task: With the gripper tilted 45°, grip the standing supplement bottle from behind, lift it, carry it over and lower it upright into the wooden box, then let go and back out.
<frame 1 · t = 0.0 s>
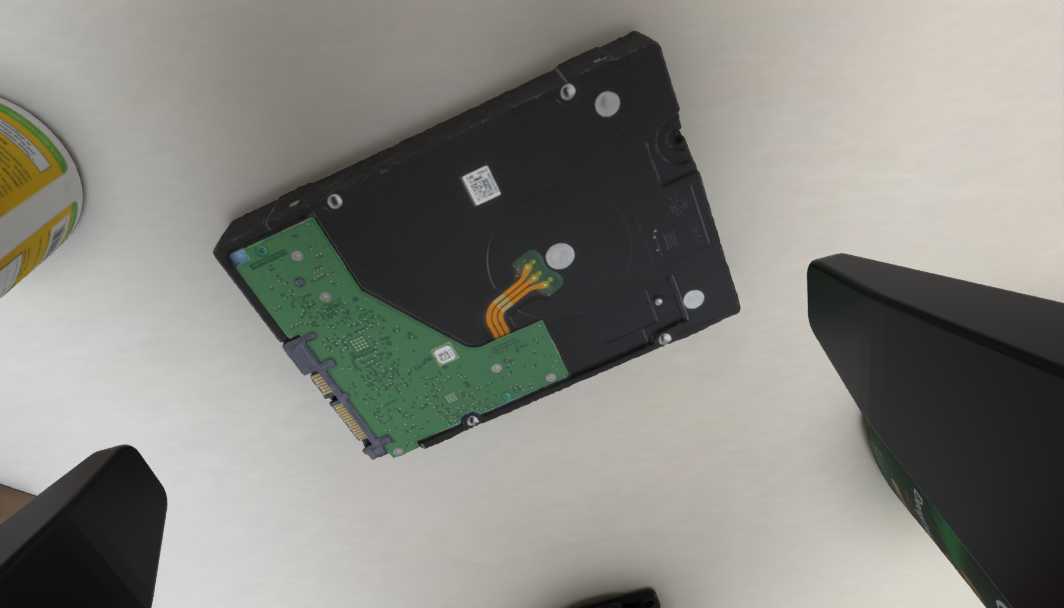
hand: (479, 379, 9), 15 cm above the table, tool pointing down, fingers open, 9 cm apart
coffee jar: (945, 419, 32), on the table
disk drive: (491, 249, 25), on the table
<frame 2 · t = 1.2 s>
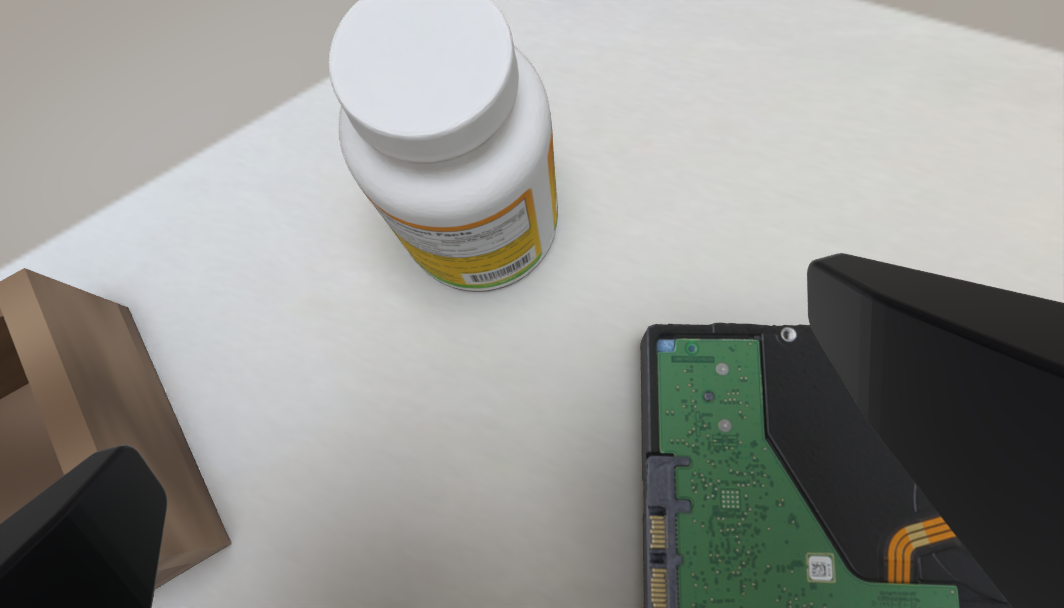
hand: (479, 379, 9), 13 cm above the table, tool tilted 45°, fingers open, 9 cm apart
wooden box: (53, 491, 22), on the table
supplement bottle: (481, 221, 24), on the table
disk drive: (876, 503, 21), on the table
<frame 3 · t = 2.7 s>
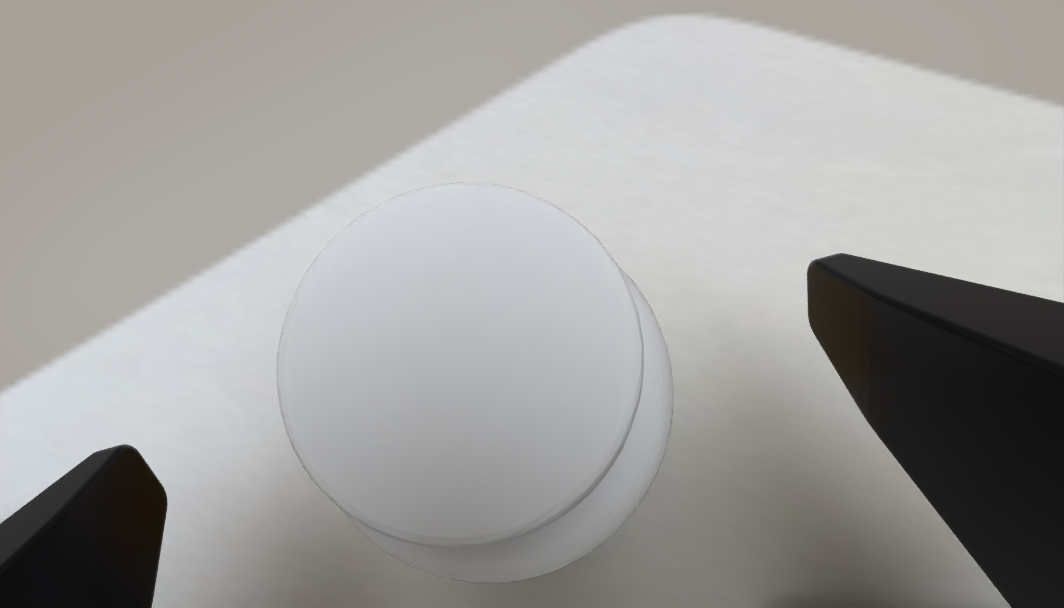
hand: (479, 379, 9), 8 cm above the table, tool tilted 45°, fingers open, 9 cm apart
supplement bottle: (525, 426, 17), on the table
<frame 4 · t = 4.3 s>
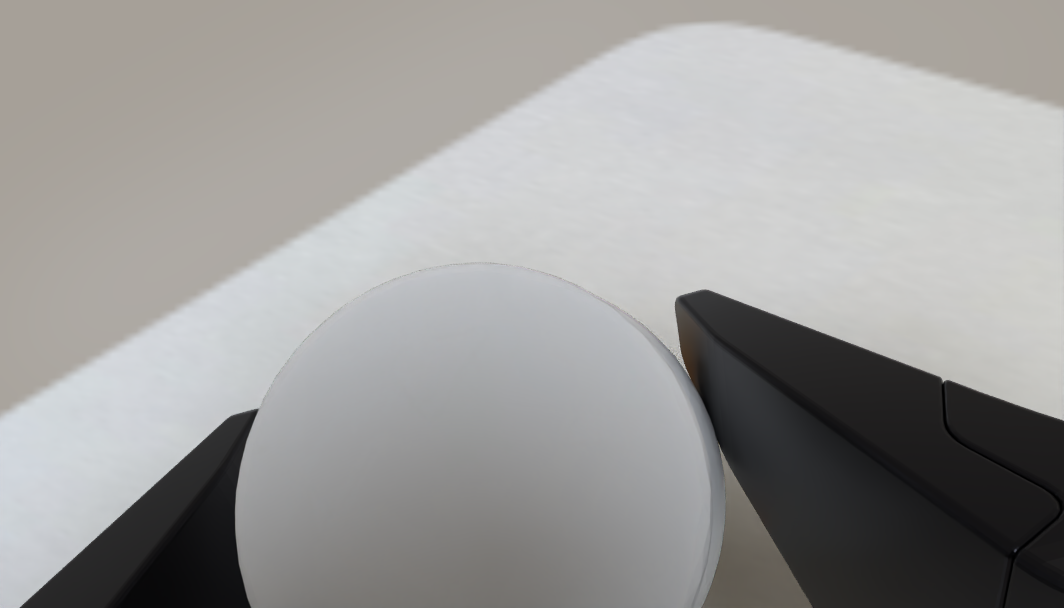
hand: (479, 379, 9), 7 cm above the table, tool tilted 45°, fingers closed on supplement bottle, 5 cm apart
supplement bottle: (536, 482, 15), on the table, touching gripper
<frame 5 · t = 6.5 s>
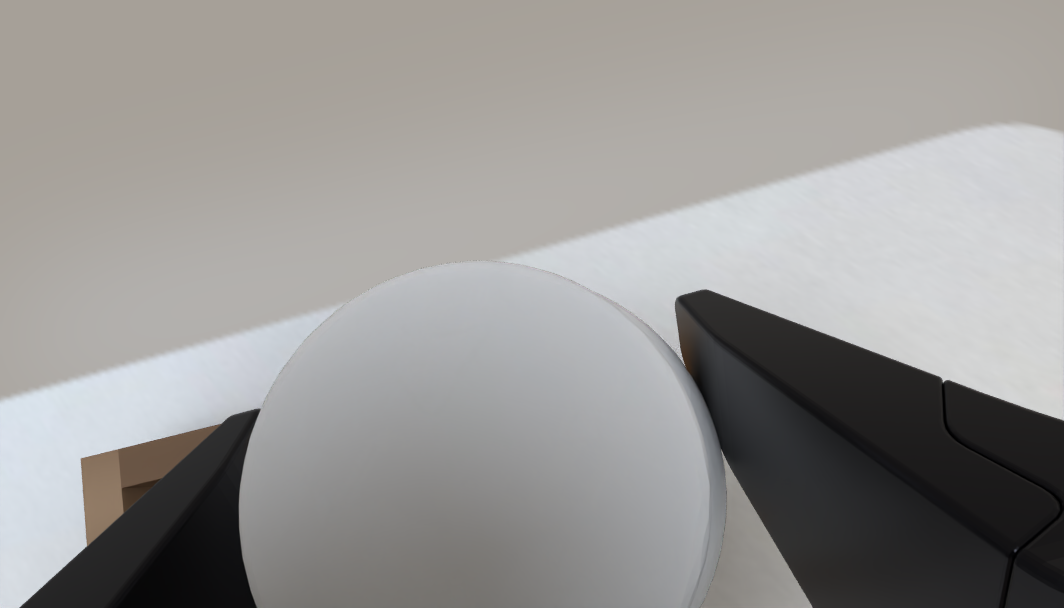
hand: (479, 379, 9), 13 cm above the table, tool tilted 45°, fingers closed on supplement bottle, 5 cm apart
wooden box: (336, 571, 21), on the table
supplement bottle: (539, 479, 15), point 6 cm above the table, touching gripper
when the fingers open (8 cm above the table, at t = 9.1 s): supplement bottle drops 1 cm, resting on wooden box.
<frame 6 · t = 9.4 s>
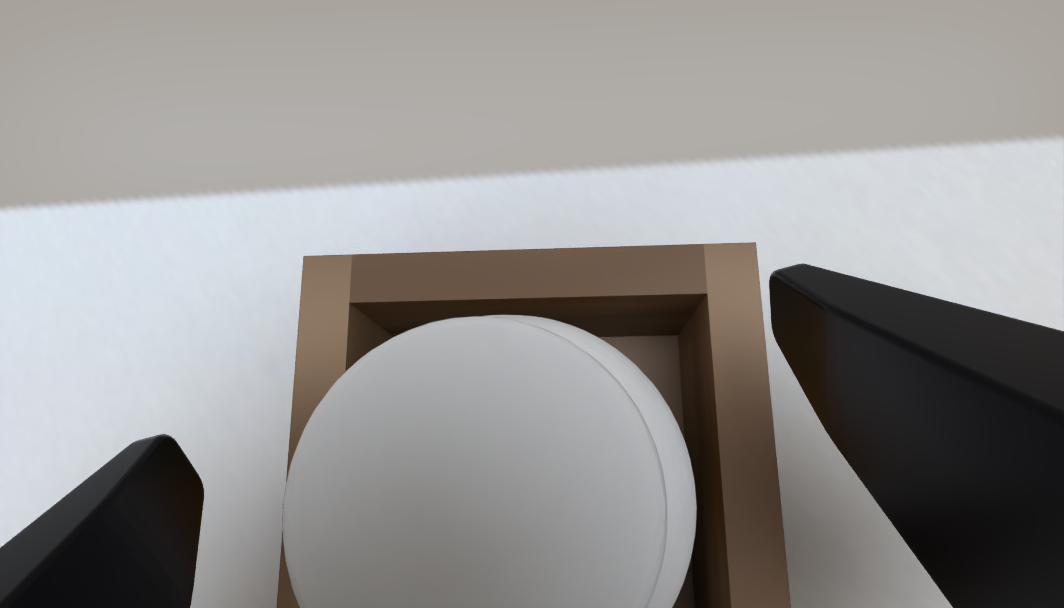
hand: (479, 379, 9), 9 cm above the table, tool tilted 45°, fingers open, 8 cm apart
wooden box: (540, 482, 17), on the table
supplement bottle: (542, 489, 16), resting on wooden box
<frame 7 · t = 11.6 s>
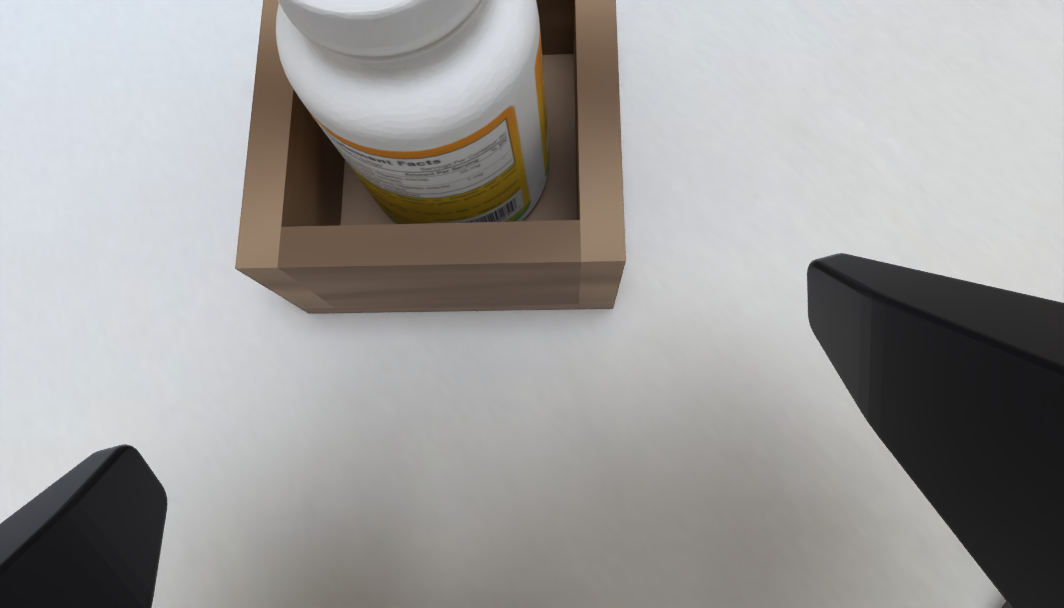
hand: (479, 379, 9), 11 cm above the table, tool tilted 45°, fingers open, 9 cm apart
wooden box: (462, 169, 21), on the table
supplement bottle: (462, 168, 21), resting on wooden box
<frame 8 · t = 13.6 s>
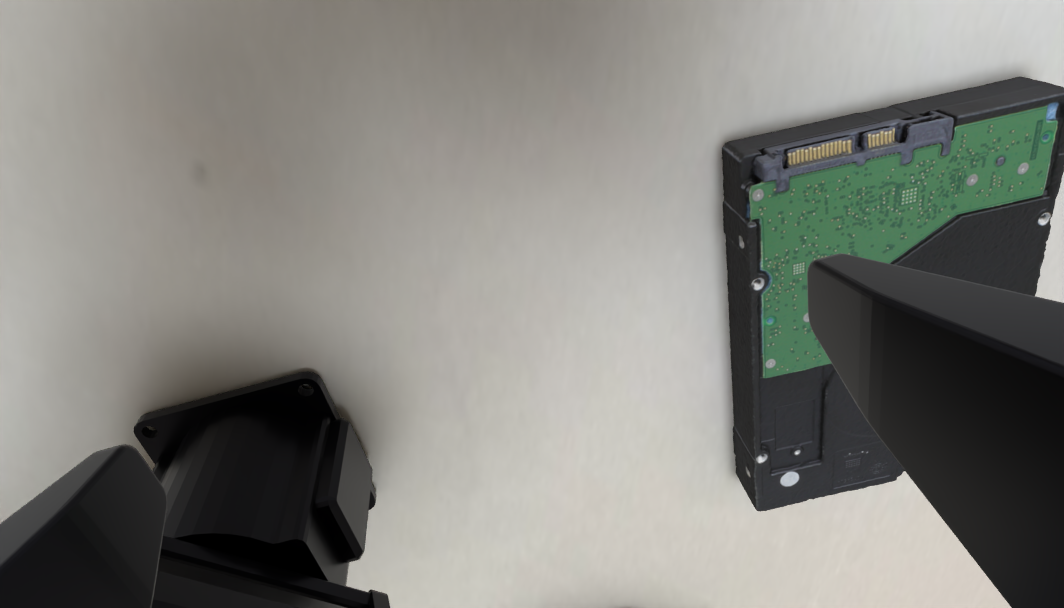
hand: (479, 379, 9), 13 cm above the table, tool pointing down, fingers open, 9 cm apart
disk drive: (850, 295, 26), on the table
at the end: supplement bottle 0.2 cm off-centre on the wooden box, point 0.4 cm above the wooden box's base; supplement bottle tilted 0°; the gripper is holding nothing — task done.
